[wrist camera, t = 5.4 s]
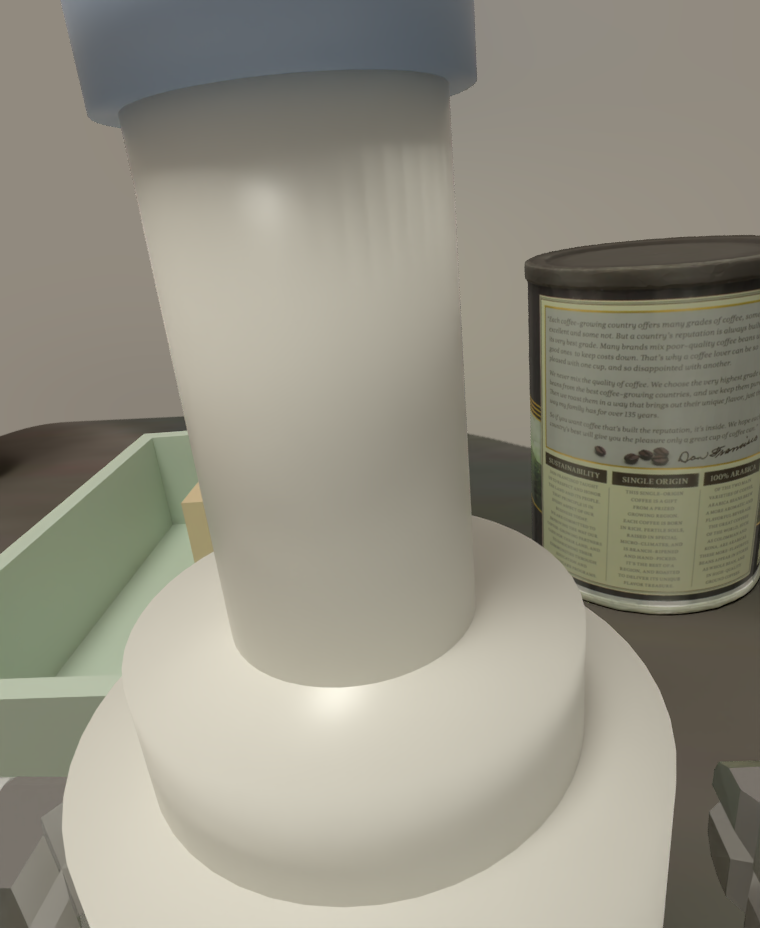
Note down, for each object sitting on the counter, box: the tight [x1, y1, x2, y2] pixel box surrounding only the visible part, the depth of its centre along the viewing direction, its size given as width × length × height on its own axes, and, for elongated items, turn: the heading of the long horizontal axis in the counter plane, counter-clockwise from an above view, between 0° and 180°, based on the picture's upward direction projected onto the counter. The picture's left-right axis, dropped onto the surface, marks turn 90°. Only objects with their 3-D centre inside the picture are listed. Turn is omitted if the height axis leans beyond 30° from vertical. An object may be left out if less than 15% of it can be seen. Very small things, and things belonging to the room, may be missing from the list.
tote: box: [0, 431, 198, 777], centre depth 28 cm, size 16×22×6 cm
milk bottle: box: [61, 0, 676, 928], centre depth 8 cm, size 6×6×19 cm
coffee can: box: [525, 235, 760, 614], centre depth 29 cm, size 10×10×14 cm
